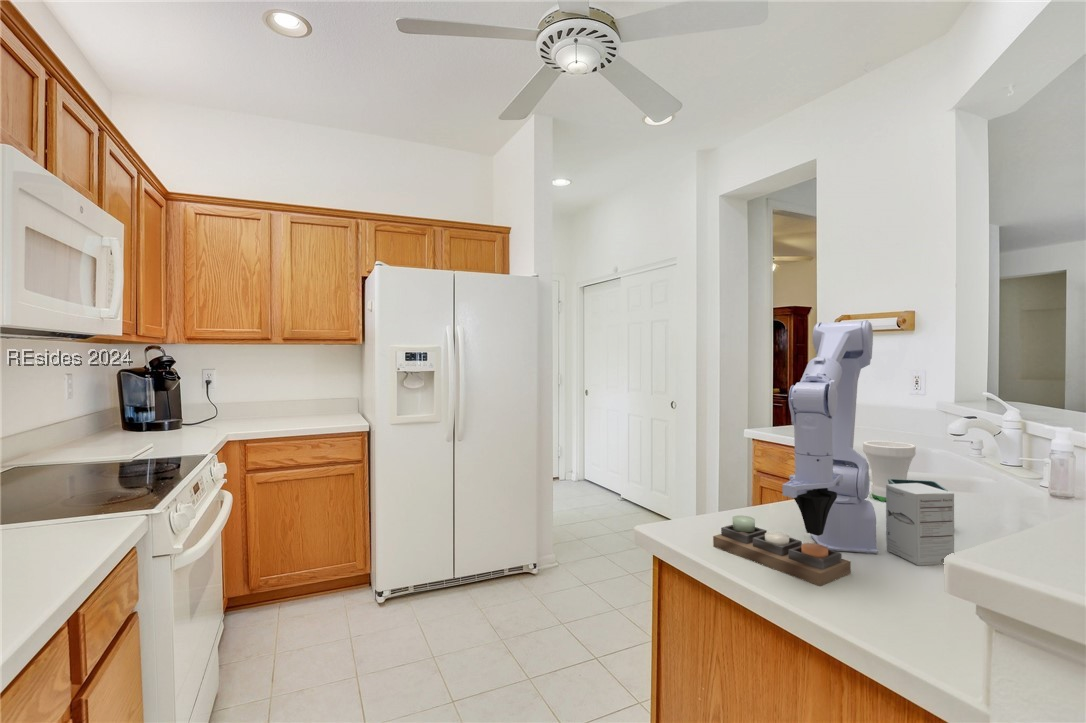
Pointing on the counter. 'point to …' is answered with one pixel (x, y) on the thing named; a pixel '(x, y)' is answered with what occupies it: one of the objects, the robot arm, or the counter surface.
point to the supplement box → (919, 522)
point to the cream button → (777, 538)
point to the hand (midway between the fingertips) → (814, 533)
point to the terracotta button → (814, 550)
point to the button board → (782, 555)
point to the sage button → (743, 523)
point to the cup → (887, 463)
